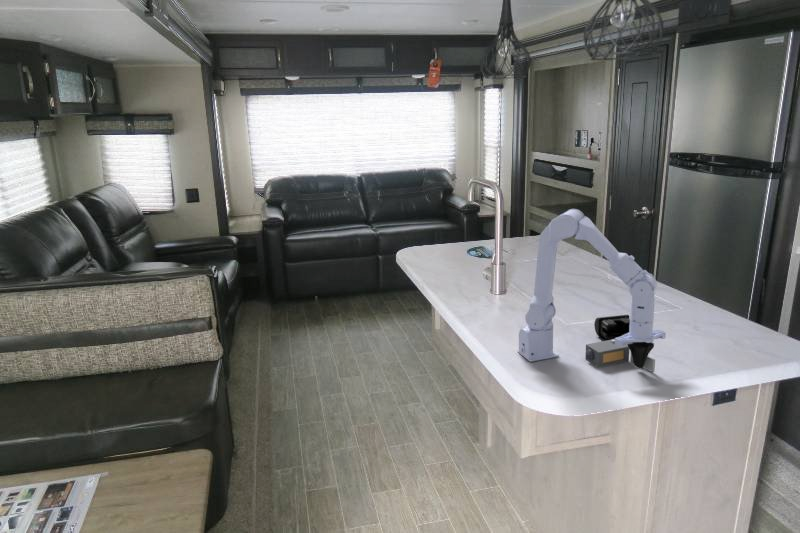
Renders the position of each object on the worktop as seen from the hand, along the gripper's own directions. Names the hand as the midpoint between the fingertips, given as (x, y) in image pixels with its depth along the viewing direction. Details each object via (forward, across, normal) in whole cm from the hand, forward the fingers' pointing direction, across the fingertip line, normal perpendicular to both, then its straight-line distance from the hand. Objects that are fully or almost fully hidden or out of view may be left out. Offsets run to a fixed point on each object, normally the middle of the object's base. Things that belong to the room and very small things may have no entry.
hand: (638, 366), depth 154 cm
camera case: (+1, -3, +9) cm, 10 cm away
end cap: (+2, +9, +22) cm, 24 cm away
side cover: (+1, +2, +2) cm, 3 cm away
